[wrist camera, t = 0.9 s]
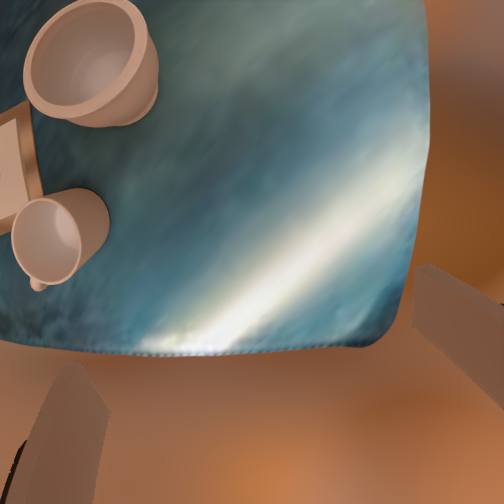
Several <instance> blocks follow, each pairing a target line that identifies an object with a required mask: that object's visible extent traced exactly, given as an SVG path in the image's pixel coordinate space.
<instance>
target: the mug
mask: <svg viewBox="0 0 504 504" xmlns="http://www.w3.org/2000/svg"><path fill="white" fill-rule="evenodd" d="M109 227H110V219H109V213H108V210H107V208H106V205H105V204H104V202H103V201H102V199H101V198H100V197H99V196H98V195H97V194H95V193H94V192H92V191H90V190H87V189H83V188H74V189H69V190H65V191H61V192H57V193H54V194H50V195H46V196H43V197H39V198H35V199H33V200H30V201H29V202H27V203H26V204H25V205H23V206H22V207H21V209H20V210H19V211H18V213H17V215H16V217H15V219H14V222H13V226H12V233H11V240H12V247H13V251H14V254H15V257H16V259H17V261H18V263H19V265H20V266H21V268H22V269H23V270H24V271H25V273H26V274H27V275H29V276H30V284H31V287H32V288H33V289H34V290H35V291H42V290H43V289H45V288H46V287H47V286H48V285H54V284H59V283H62V282H64V281H66V280H67V279H69V278H70V277H71V276H72V275H73V274H74V273H75V272H76V271H77V270H78V269H79V268H80V267H81V266H82V265H83V264H84V263H85V262H86V261H87V260H88V259H89V258H90V257H91V256H92V255H93V254H94V253H95V252H96V251H97V250H98V249H99V248H100V247H101V246H102V245H103V243H104V242H105V240H106V238H107V235H108V232H109Z"/></svg>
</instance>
